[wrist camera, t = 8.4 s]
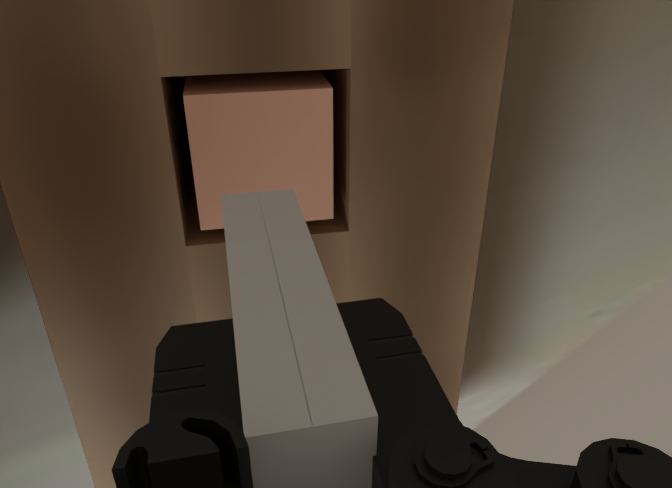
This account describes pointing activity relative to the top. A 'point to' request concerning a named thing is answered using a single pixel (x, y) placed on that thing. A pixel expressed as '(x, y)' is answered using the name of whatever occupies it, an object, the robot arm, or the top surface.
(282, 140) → the peg
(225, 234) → the robot arm
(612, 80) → the top surface
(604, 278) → the top surface
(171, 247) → the socket block
